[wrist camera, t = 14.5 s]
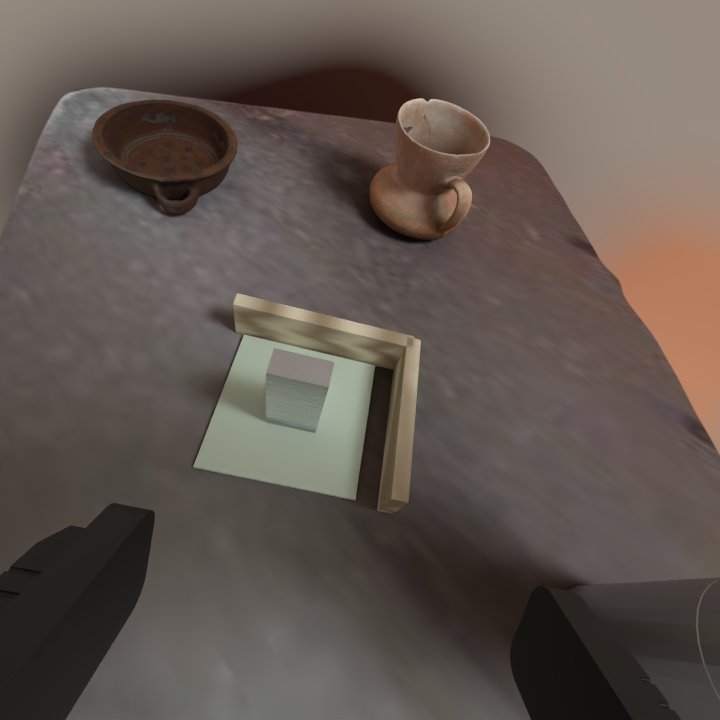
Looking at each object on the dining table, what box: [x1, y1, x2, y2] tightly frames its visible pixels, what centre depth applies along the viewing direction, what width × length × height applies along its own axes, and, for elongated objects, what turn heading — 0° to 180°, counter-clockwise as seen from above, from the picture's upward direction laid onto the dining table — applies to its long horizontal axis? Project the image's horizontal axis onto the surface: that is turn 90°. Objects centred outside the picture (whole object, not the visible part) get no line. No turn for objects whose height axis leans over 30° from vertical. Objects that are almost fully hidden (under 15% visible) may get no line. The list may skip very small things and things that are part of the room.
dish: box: [93, 100, 237, 214], centre depth 54 cm, size 17×22×5 cm
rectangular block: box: [266, 348, 334, 433], centre depth 37 cm, size 6×5×10 cm
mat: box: [193, 335, 375, 501], centre depth 40 cm, size 15×15×1 cm
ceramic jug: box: [369, 99, 490, 240], centre depth 55 cm, size 18×14×14 cm
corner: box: [233, 293, 421, 514], centre depth 39 cm, size 20×17×5 cm
